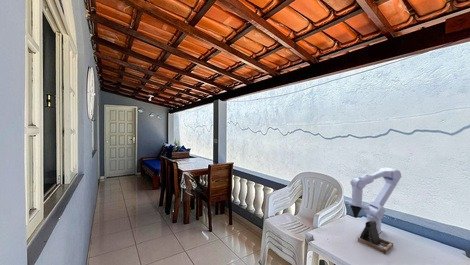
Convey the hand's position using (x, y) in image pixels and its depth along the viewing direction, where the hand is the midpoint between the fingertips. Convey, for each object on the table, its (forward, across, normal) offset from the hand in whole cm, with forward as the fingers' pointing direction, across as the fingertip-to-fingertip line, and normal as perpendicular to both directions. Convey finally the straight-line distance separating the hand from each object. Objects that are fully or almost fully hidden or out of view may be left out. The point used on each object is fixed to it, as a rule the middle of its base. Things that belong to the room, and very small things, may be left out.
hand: (355, 217), depth 126 cm
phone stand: (+10, +10, -4) cm, 15 cm away
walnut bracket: (+9, +13, -5) cm, 17 cm away
